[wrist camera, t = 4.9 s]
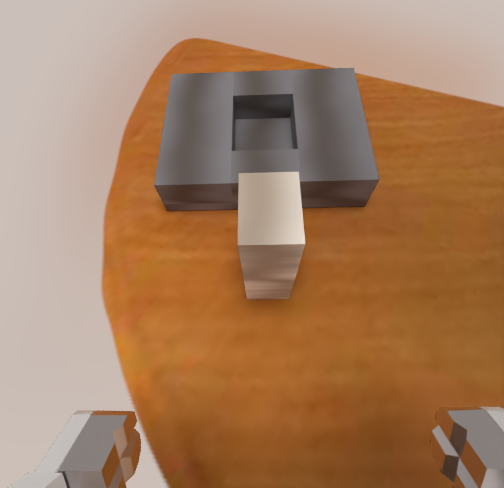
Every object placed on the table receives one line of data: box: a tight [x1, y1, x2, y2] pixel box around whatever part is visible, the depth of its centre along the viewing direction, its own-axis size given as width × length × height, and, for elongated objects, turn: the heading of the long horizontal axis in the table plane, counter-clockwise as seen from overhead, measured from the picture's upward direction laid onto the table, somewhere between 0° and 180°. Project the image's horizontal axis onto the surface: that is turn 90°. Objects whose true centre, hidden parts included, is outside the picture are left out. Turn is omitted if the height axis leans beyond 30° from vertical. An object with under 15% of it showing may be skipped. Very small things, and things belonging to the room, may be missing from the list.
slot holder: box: [154, 68, 379, 211], centre depth 26 cm, size 16×12×4 cm
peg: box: [238, 172, 305, 300], centre depth 19 cm, size 3×4×9 cm
